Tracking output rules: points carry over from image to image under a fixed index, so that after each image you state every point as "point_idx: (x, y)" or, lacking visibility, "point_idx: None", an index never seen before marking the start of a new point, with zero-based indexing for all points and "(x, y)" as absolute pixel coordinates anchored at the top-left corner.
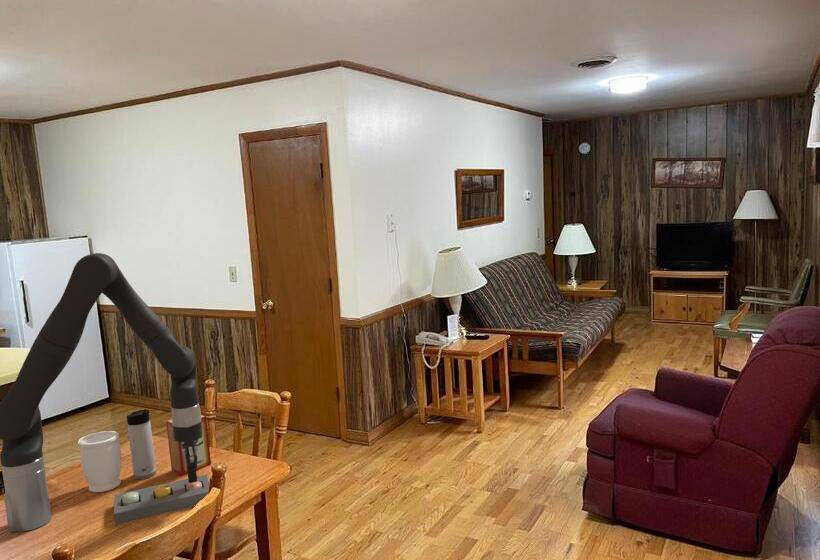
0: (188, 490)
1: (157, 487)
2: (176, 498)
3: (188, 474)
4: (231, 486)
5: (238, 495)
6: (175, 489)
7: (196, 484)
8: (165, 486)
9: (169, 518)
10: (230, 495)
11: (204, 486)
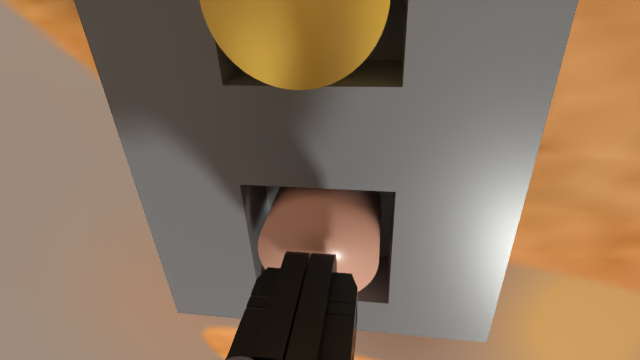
0: (281, 200)
1: None
2: (126, 106)
3: (264, 317)
4: (355, 355)
5: None
6: (327, 115)
7: None
8: (322, 36)
9: (43, 5)
10: None
11: None
